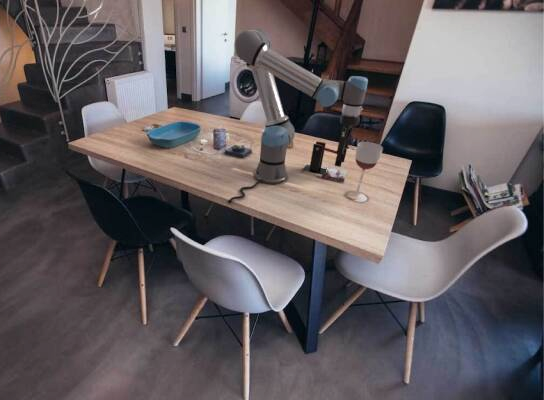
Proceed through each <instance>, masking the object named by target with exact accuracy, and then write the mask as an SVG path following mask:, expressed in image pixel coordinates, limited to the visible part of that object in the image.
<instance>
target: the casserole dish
mask: <svg viewBox="0 0 544 400" xmlns="http://www.w3.org/2000/svg"><path fill="white" fill-rule="evenodd" d="M201 129H202V125H200V124H198V123H197V122H193V121H185V120H182V121H181V120H178V121H173V122H170V123H167V124H164V125H161V126H158V127H155V128H152V129H149V130H147V131H146V136H147V138H148V140H149V142H150V143H151V144H153V145H154V146H157V147H161V148H164V149H173V148H176V147H179V146H181V145H184V144H185V143H188V142H191V141H193V140H194V139H196V138H198V137H199V135H200V134H201Z"/></svg>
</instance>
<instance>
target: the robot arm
mask: <svg viewBox="0 0 544 400" xmlns="http://www.w3.org/2000/svg"><path fill="white" fill-rule="evenodd" d="M233 47H234V51H235V54H236V56H237V57H238V58H239V59H240V60H241V61H243V62H245V64H246V67H247V69H249V70H251V73H252V76H253V79H254V82H255V85H256V89H257V93H258V95H259V99H260V102H261V106H262V108H263V112H264V117H265V119H266V121H265V123H264V126H265V128H264V129H263V130H262V132H261V136H260V139H261V140H260V152H259V153H260V154H259V162H258V164H257V167H256V168H255V171H254V178H255V180H257V181H256V182H255V183H254V184H253V185H252V186H242V187H240V188H239V192H240V193H241V194H242V195H239V196H238V195H237V196H232V197H231V198H229V200H228V201H227V204H231V202H232V201H233V200H237V199H244V198H245V196H246V193H245V192H244V191H243V190H251V189H254V188H255V187H256V186H257V185H259V184H261V183H263V184H269V185H279V184H282V183H285V181H286V179H287V177H288V172H287V168H286V156H287V150H288V148H287V147H290V145H291V142H292V141H294V138H295V133H296V131H295V127H294V125H293V124H292V123H291V121H290V118H289V116H288V115H286V114H285V112H284V109H283V105H282V102H281V98H280V95H279V90H278V87H277V83H276V81H275V77H277V78H278V79H280V80H282V81H284V82H285V83H287V84H289V85H290V86H292V87H294V88H295V89H297V90H298V91H301V92H302V93H304V94H305V95H307V96H309V97H311V98H312V99H314V100H316V101H317V103H318V104H319V105H320V106H321V107H330V106H332V105H334V104H335V103H337V101H338V100H340V101H344V102H343V105H342V108H341V109H342V110H341V116H340V120H339V123H340V124H341V125H343V127H342V128H341V131H340V136H339V142H338V146H337V149H336V150H335V151H336V153H337V154H336V157H335V161H334V166H335V167H338V168H341V167H342V164H344V163H345V159H346V155H347V151H348V150H349V149H350V146H349V145H350V141H351V136H352V132H353V130H354V127H355V126H357V125H358V124H359V121H360V115H361V112H362V111H363V110H364V108H363V104H364V100H365V97H366V93H367V89H368V83H369V79H368V78H367V77H366V76H361V75H360V76H359V75H358V76H357V75H356V76H355V75H352V76H350V77H349V79H348V80H337V79H329V78H327V79H323V78H321V77H319V76H317V75H316V74H314V73H312V72H311V71H309V70H307V69H306V68H304V67H302V66H300V65H299V64H296V63H295V62H294V61H292V60H290V59H288V58H286V57H285V56H283V55H281V54H280V53H278V52H276V51H274V50H272V49H271V40H270V37H269V35H268V34H267V32H265V31H263V30H261V29H257V28H255V29H247V30H242V31H241V32H240V33H239V34H238V35H237V37H236V38H235V41H234V45H233ZM344 151H345V153H344Z"/></svg>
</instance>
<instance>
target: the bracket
mask: <svg viewBox="0 0 544 400" xmlns="http://www.w3.org/2000/svg"><path fill="white" fill-rule="evenodd" d="M318 144H321V145H318ZM326 144H327V143H326V142H323V141H315V143H313V146H312V150H311V151H312V152H311V157H310V164H305V166H304V167H303V168H302V169H301V171H305V172H308V173H312V174H316V175H320V176H325V174H326V173H327V172H326V170H327V168H324V167H322V165H323V160H324V155H325V150H323V147H325V148H326V146H327V145H326ZM327 171H328V170H327Z"/></svg>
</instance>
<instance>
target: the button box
mask: <svg viewBox="0 0 544 400" xmlns="http://www.w3.org/2000/svg"><path fill="white" fill-rule="evenodd" d="M252 153H253V149H252V148H248V147H245V145H243V144H242V148H235V144H233V145H231V146H229V147H228V148H226V149H224V155H227V156H231V157H236V158H240V159H246V157H248V156H249V155H251V154H252Z"/></svg>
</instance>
